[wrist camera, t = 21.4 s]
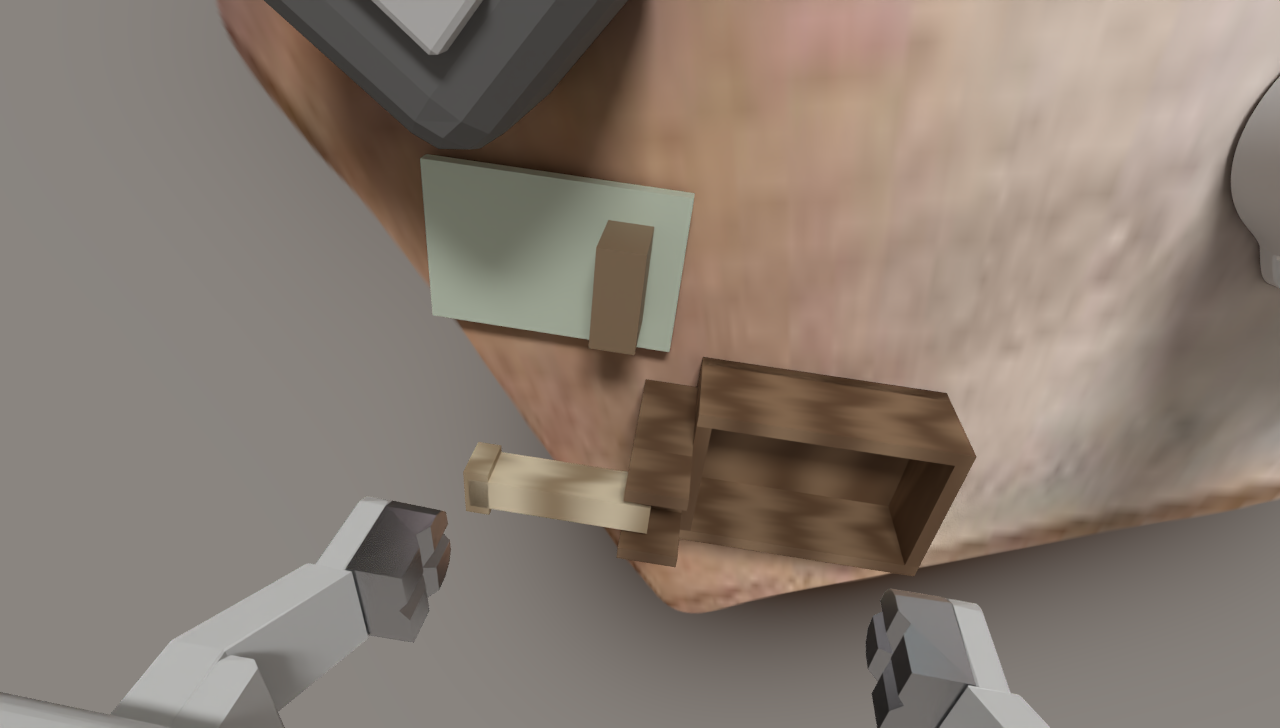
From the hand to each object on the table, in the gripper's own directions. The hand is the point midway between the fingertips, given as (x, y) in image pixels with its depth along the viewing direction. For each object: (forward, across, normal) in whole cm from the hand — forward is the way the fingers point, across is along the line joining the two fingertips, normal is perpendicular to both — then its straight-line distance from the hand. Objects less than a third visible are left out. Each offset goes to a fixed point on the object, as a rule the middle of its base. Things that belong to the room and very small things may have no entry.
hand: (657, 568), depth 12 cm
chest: (+33, -8, +23) cm, 41 cm away
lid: (+32, +10, +10) cm, 35 cm away
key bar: (+24, +7, +22) cm, 34 cm away
